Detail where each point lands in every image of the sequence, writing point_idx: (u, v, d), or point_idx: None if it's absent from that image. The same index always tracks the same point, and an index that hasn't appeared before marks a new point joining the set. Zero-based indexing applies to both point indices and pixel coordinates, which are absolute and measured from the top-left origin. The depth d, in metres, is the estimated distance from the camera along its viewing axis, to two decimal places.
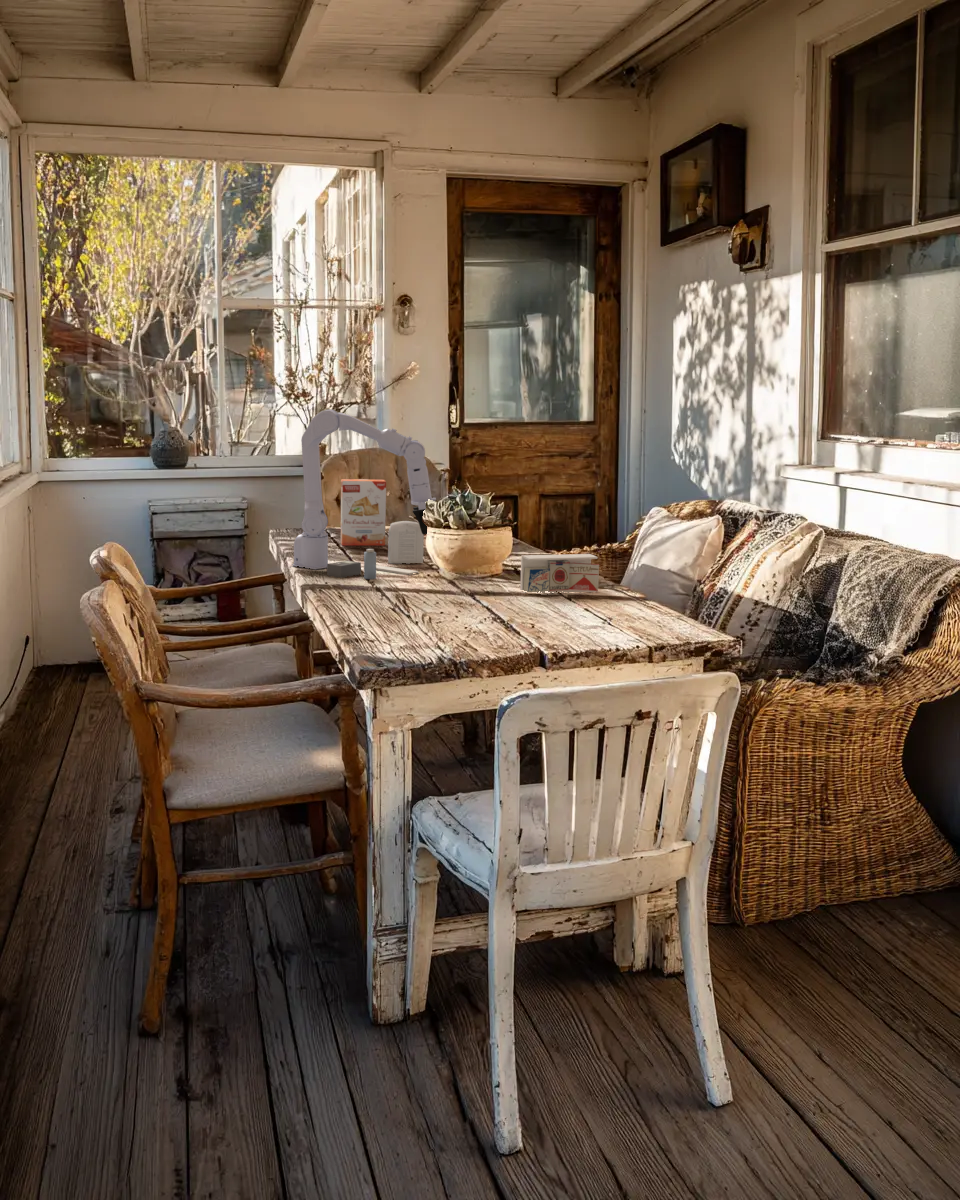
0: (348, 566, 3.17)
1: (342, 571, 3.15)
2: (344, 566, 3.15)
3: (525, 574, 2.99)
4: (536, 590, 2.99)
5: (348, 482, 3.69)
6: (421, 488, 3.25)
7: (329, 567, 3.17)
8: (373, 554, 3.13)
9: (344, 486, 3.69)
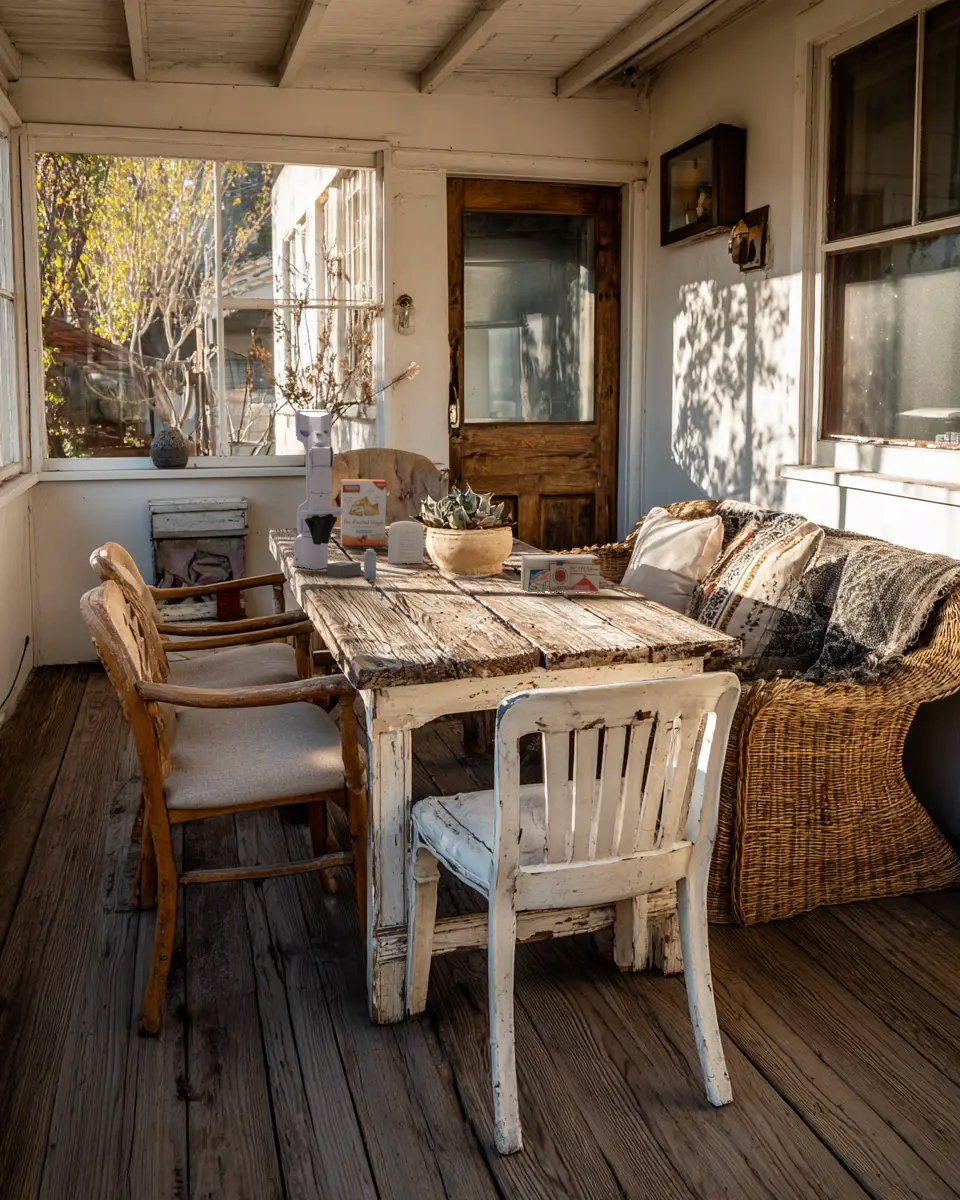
0: (348, 566, 3.17)
1: (342, 571, 3.15)
2: (344, 566, 3.15)
3: (525, 574, 2.99)
4: (536, 590, 2.99)
5: (348, 482, 3.69)
6: (314, 497, 3.06)
7: (329, 567, 3.17)
8: (373, 554, 3.13)
9: (344, 486, 3.69)
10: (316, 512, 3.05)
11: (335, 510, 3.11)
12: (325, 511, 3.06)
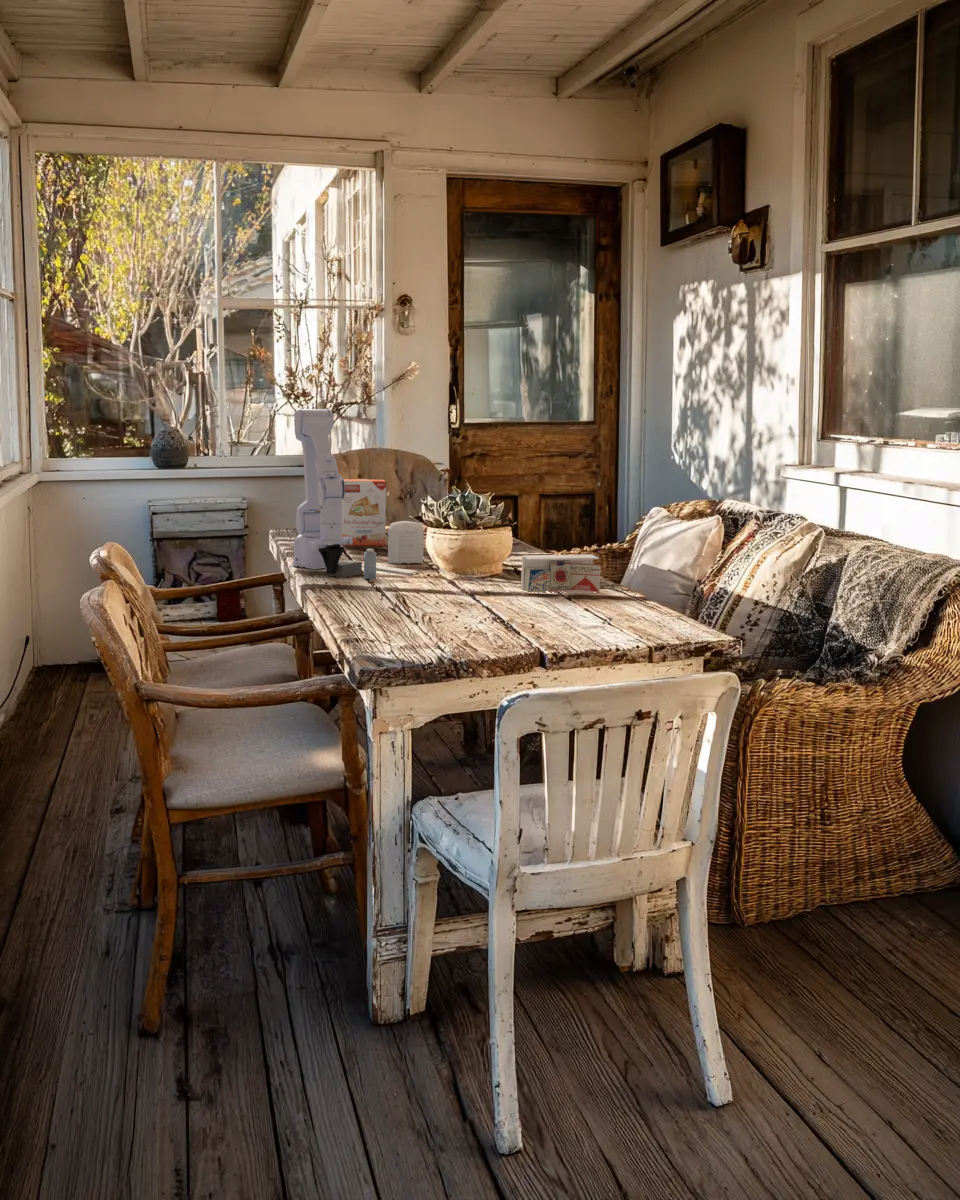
0: (349, 565, 3.17)
1: (343, 570, 3.15)
2: (345, 565, 3.15)
3: (526, 574, 2.99)
4: (536, 590, 2.99)
5: (348, 482, 3.69)
6: (325, 527, 3.10)
7: None
8: (373, 554, 3.13)
9: None
10: (327, 543, 3.10)
11: (345, 540, 3.15)
12: (335, 541, 3.11)
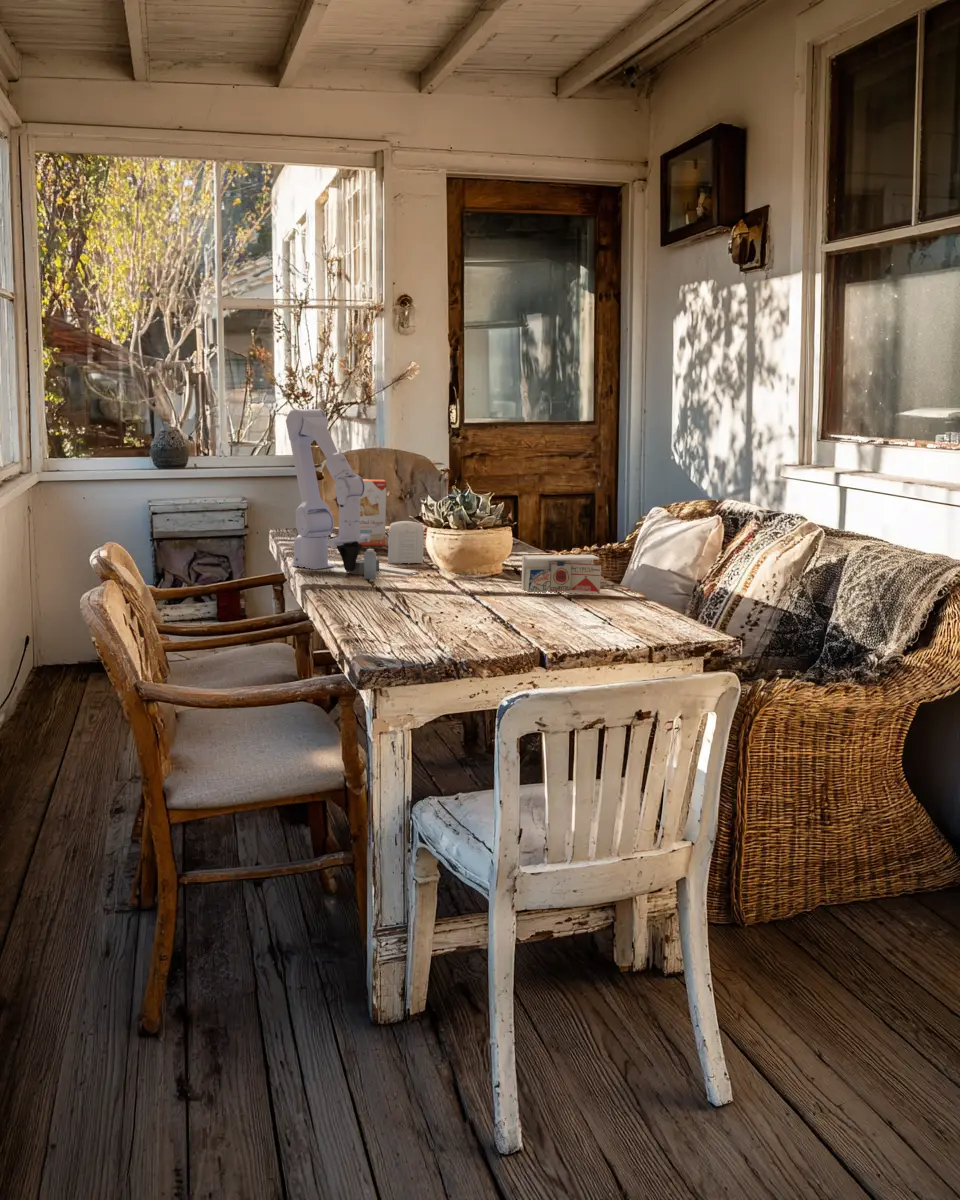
0: None
1: (361, 568, 3.21)
2: (363, 563, 3.21)
3: (526, 574, 2.99)
4: (537, 590, 2.99)
5: None
6: (343, 525, 3.16)
7: None
8: (373, 554, 3.13)
9: None
10: (345, 540, 3.15)
11: (363, 538, 3.21)
12: (354, 539, 3.17)
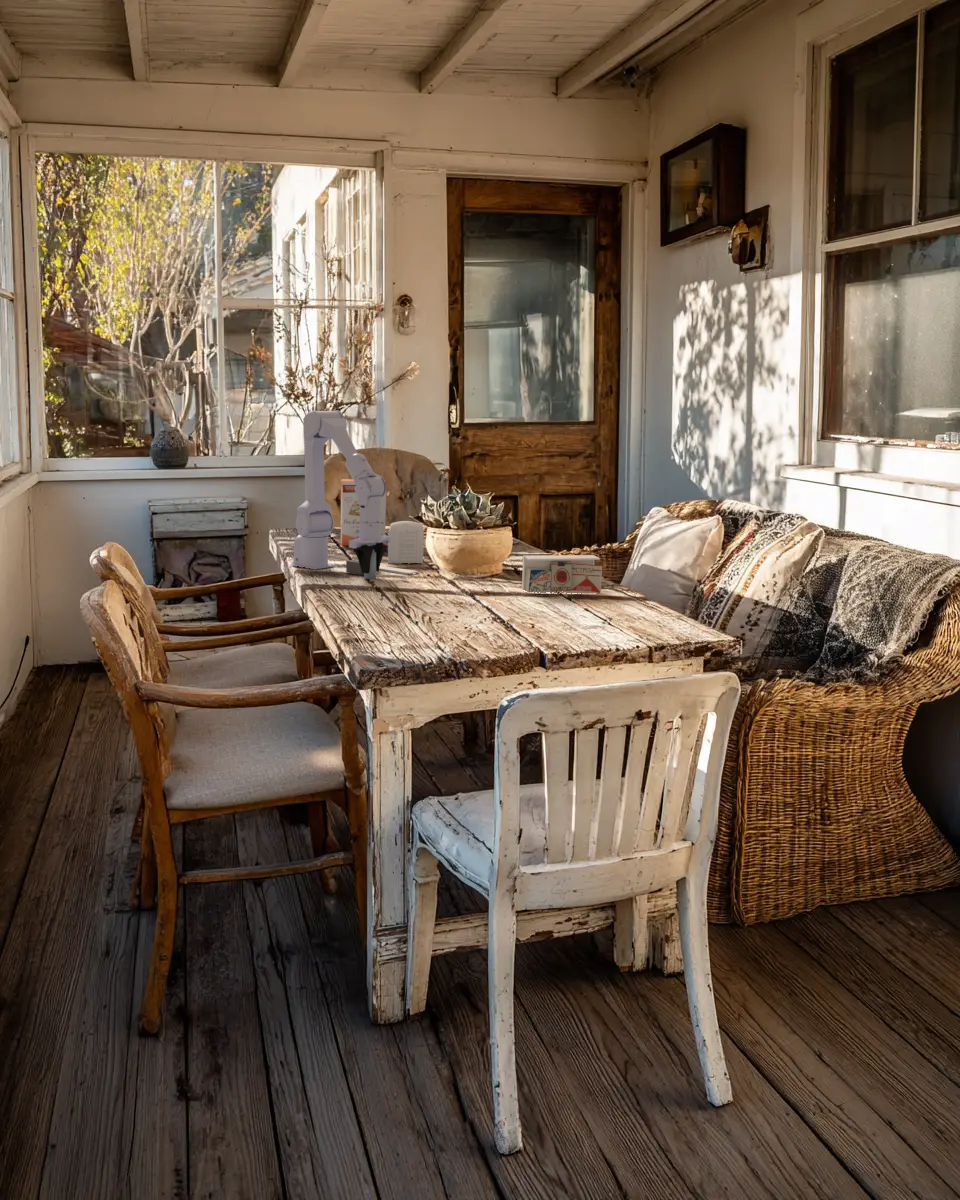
0: None
1: None
2: None
3: (526, 574, 2.99)
4: (537, 591, 2.99)
5: (348, 482, 3.69)
6: (364, 526, 3.10)
7: (348, 564, 3.23)
8: (373, 554, 3.13)
9: (344, 486, 3.69)
10: (366, 541, 3.09)
11: (384, 539, 3.15)
12: (375, 540, 3.11)
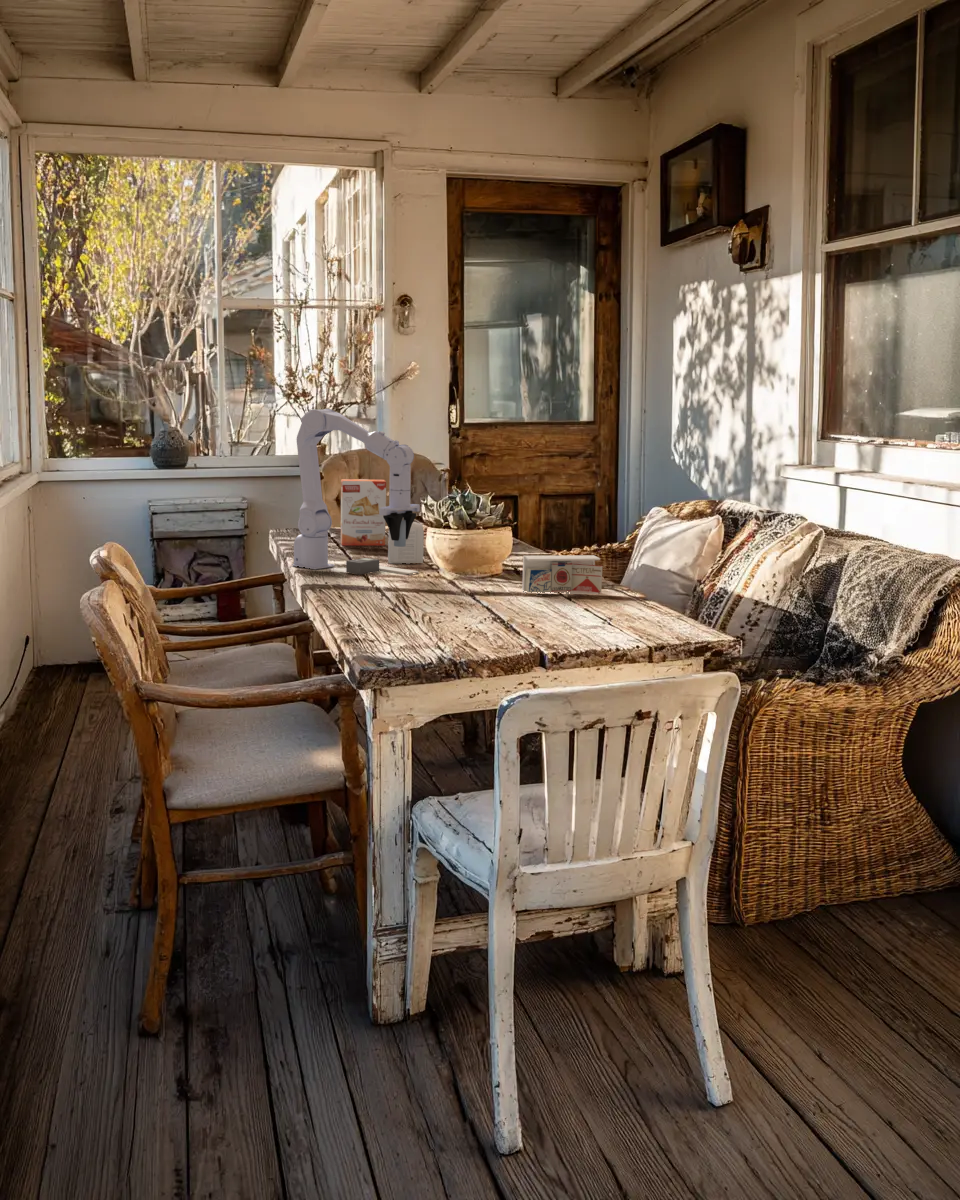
0: (367, 563, 3.22)
1: (361, 568, 3.21)
2: (363, 563, 3.21)
3: (526, 574, 2.99)
4: (537, 591, 2.98)
5: (348, 482, 3.69)
6: (394, 494, 3.17)
7: (348, 564, 3.23)
8: (403, 522, 3.19)
9: (344, 486, 3.69)
10: (396, 509, 3.16)
11: (413, 507, 3.22)
12: (404, 508, 3.17)
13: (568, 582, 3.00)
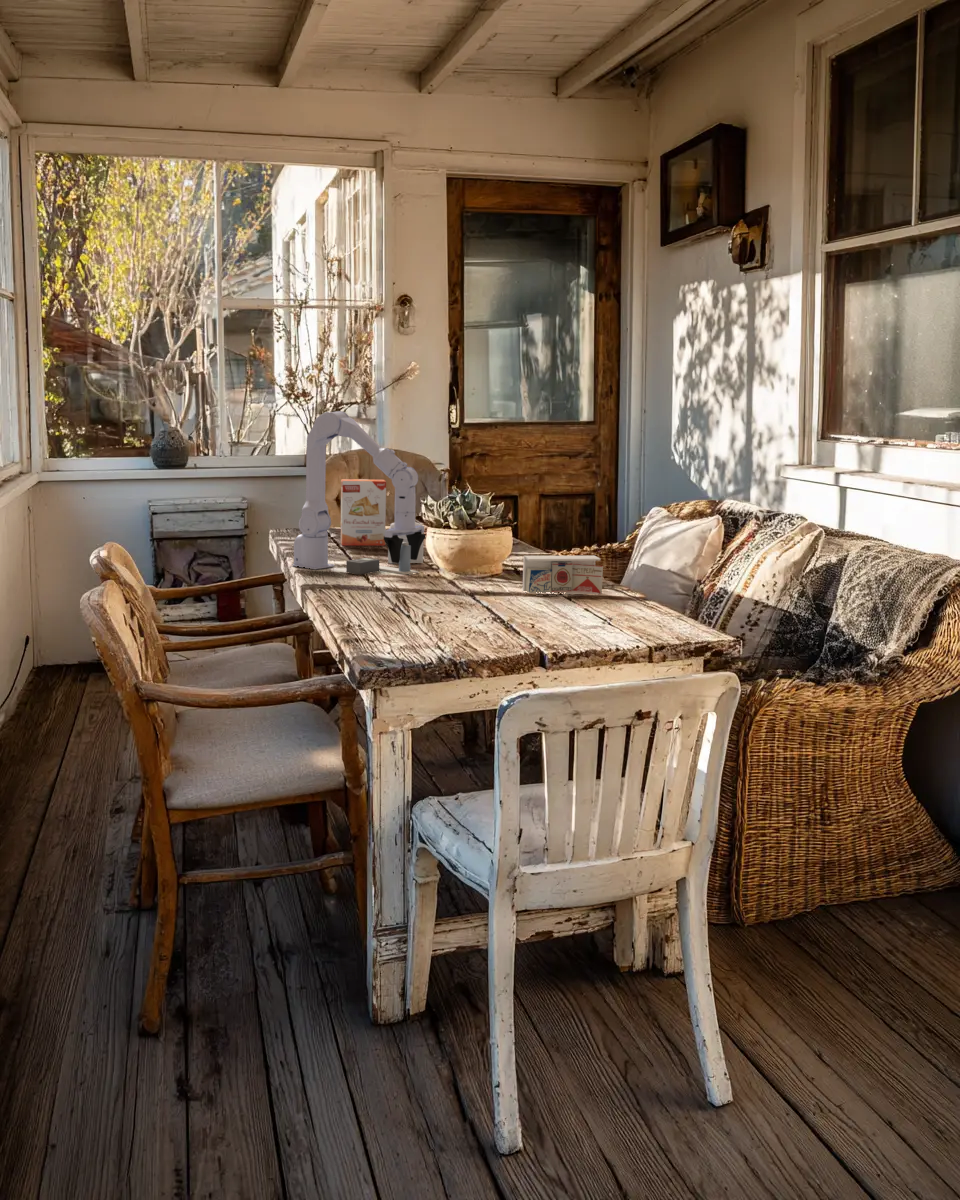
0: (367, 563, 3.22)
1: (361, 568, 3.21)
2: (363, 563, 3.21)
3: (527, 574, 2.98)
4: (537, 591, 2.98)
5: (348, 482, 3.69)
6: (399, 516, 3.19)
7: (348, 564, 3.23)
8: (408, 547, 3.22)
9: (344, 486, 3.69)
10: (401, 531, 3.19)
11: (418, 529, 3.24)
12: (409, 530, 3.20)
13: (568, 582, 3.00)
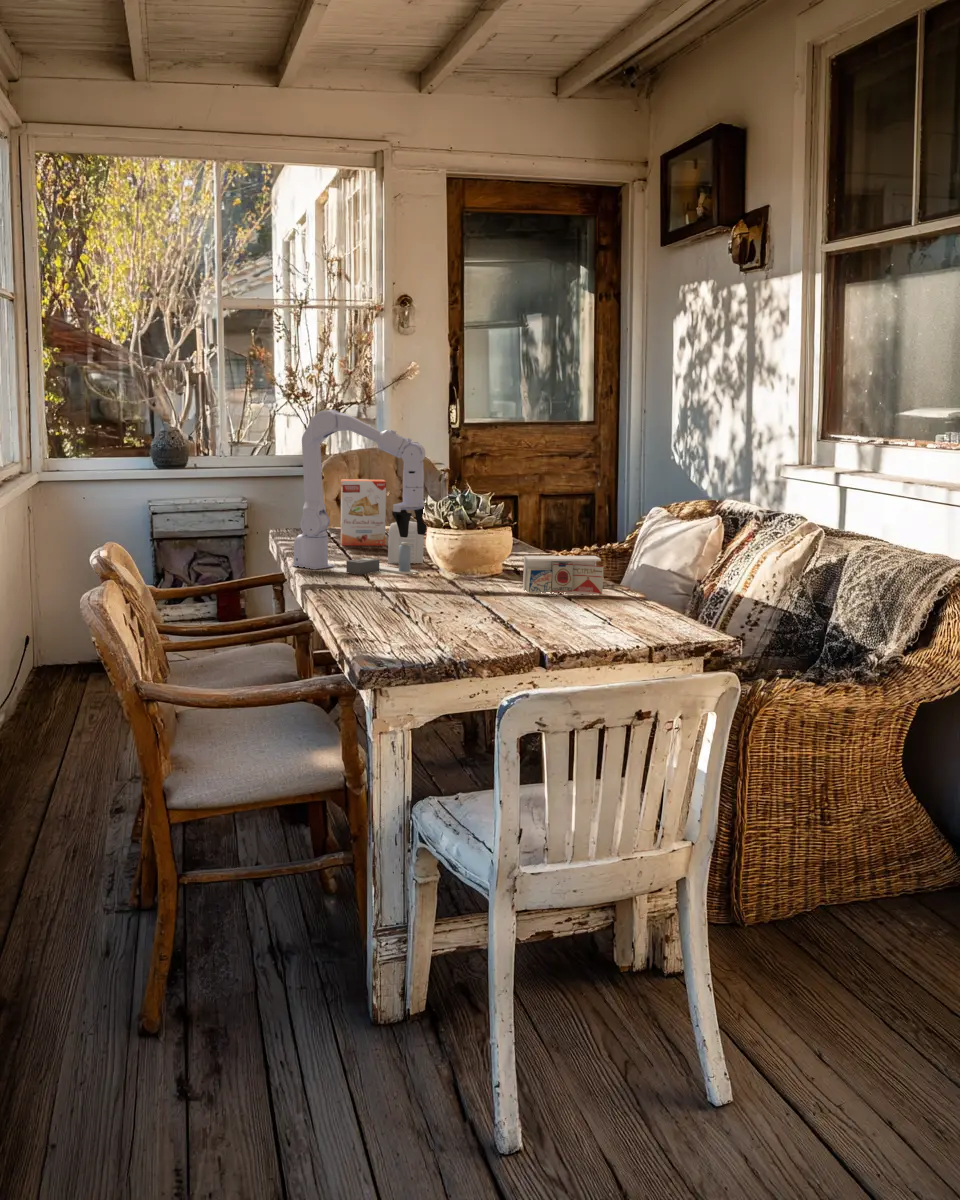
0: (367, 563, 3.22)
1: (361, 568, 3.21)
2: (363, 563, 3.21)
3: (527, 575, 2.98)
4: (537, 591, 2.98)
5: (348, 482, 3.69)
6: (408, 491, 3.22)
7: (348, 564, 3.23)
8: (408, 547, 3.22)
9: (344, 486, 3.69)
10: (410, 505, 3.21)
11: None
12: (418, 504, 3.22)
13: (569, 582, 3.00)
